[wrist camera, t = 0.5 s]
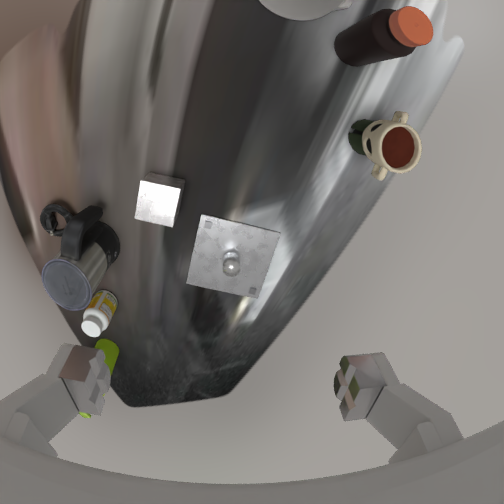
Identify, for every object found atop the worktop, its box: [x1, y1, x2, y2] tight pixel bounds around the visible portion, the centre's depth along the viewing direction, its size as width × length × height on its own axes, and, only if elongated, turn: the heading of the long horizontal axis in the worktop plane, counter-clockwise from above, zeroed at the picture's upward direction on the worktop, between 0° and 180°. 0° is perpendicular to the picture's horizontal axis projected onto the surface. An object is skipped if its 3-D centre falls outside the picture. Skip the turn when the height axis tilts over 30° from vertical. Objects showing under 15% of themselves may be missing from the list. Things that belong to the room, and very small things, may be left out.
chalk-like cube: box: [135, 172, 186, 227], centre depth 47 cm, size 6×6×6 cm
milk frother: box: [40, 204, 120, 310], centre depth 45 cm, size 14×16×15 cm
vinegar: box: [334, 6, 433, 67], centre depth 32 cm, size 7×7×20 cm
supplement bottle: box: [82, 290, 118, 337], centre depth 55 cm, size 5×5×10 cm
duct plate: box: [186, 214, 281, 298], centre depth 54 cm, size 14×14×4 cm
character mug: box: [349, 111, 422, 180], centre depth 42 cm, size 11×7×13 cm, turn 161°
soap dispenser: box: [79, 339, 119, 418], centre depth 56 cm, size 6×7×20 cm
